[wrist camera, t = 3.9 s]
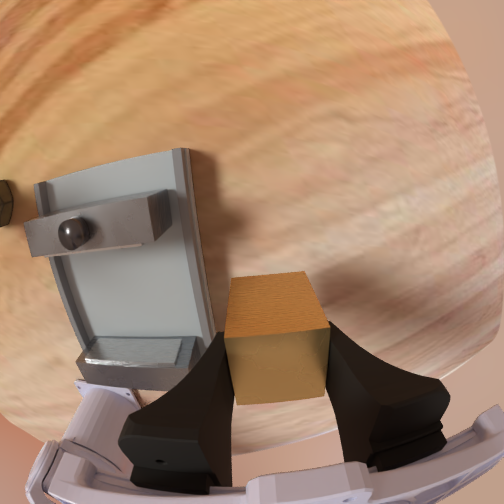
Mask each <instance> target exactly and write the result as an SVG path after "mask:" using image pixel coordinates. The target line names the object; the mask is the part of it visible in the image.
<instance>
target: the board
mask: <svg viewBox="0 0 504 504" xmlns="http://www.w3.org/2000/svg"><path fill="white" fill-rule="evenodd" d="M166 188H167V190H168V197H169V204H170V211H171V217H172V224H173V225H172V226H171V227H170V228H169V229H168V230H167V231H166V232H165V233H163V234H162V235H161V236H160V237H159V238H158V239H157V240H156V241H155V242H151V243H144V244H143V245H142V246H137V247H128V248H119V249H110V250H102V251H93V252H85V253H77V254H69V255H61V256H53V257H49V261H50V264H51V268H52V271H53V274H54V278H55V281H56V284H57V287H58V290H59V293H60V296H61V298H62V301H63V304H64V307H65V309H66V312H67V315H68V317H69V320H70V322H71V325H72V327H73V329H74V332H75V334H76V336H77V339H78V341H79V343H80V345H81V348H82V350H84V349H85V348H86V346H87V345H88V343H89V342H90V341H91V339H92V338H93V337H94V336H127V337H168V336H196V338H197V342H198V346H199V350H200V354H201V357H202V355H203V354H204V352H205V351H206V350H207V348H208V347H209V345H210V343H211V342H212V340H213V338H214V337H215V335H216V329H215V324H214V319H213V313H212V308H211V302H210V296H209V291H208V285H207V279H206V273H205V267H204V260H203V254H202V247H201V241H200V234H199V227H198V220H197V212H196V205H195V197H194V189H193V181H192V172H191V164H190V154H189V148H176V149H172V150H170V151H164V152H159V153H154V154H148V155H143V156H139V157H134V158H129V159H125V160H120V161H116V162H112V163H108V164H104V165H100V166H96V167H92V168H88V169H85V170H81V171H77V172H74V173H71V174H67V175H64V176H61V177H57V178H54V179H51V180H48V181H45V182H40V183H37V184H34V191H35V197H36V203H37V209H38V214H39V216H41V215H44V214H46V213H49V212H51V211H54V210H58V209H62V208H66V207H71V206H75V205H79V204H84V203H89V202H93V201H98V200H103V199H108V198H114V197H119V196H124V195H130V194H135V193H141V192H147V191H153V190H160V189H166Z"/></svg>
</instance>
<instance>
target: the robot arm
mask: <svg viewBox="0 0 504 504" xmlns="http://www.w3.org/2000/svg"><path fill="white" fill-rule="evenodd" d="M328 323H329V325H330V341H329V354H328V365H327V375H326V385H325V387H326V390H327V393H328V395H329V398H330V401H331V403H332V406H333V409H334V413H335V416H336V421H337V425H338V430H339V435H340V440H341V445H342V450H343V456H344V463H339V464H335V465H329V466H324V467H318V468H312V469H306V470H299V471H291V472H282V473H273V474H267V475H261V476H258V477H256V478H254V479H251V480H250V481H249V482H248V483H247V485H246V487H232V465H231V464H232V463H231V421H232V412H233V404H234V396H235V393H234V388H233V383H232V378H231V373H230V368H229V363H228V358H227V352H226V347H225V341H224V333H225V332H218V333H217V334H216V335H215V337H214V338H213V340H212V342H211V343H210V345H209V347H208V348H207V350H206V351H205V352H204V354H203V355H202V357H201V358H200V359H199V361H198V362H197V363H196V364H195V366H194V367H193V368H192V369H191V371H190V372H189V373H188V374H187V375H186V376H185V377H184V378H183V379H182V380H181V381H180V382H179V383H178V384H177V385H176V386H174V387H173V388H172V389H171V390H170V391H168V392H167V393H166V394H164V395H163V396H162V397H160V398H159V399H157V400H156V401H154V402H152V403H151V404H149V405H147V406H145V407H143V408H141V407H140V405H139V403H138V401H137V399H136V397H135V395H134V393H133V391H132V389H128V388H118V387H109V386H101V385H94V384H87V382H86V381H82V380H75V382H74V384H75V385H76V387H77V389H78V390H79V392H80V394H81V395H82V397H83V399H82V401H81V403H80V405H79V406H78V408H77V410H76V412H75V414H74V416H73V418H72V420H71V422H70V423H69V425H68V427H67V429H66V431H65V433H64V435H63V437H62V439H61V441H60V442H59V443H58V442H57V441H55V440H52V441H47V442H46V443H45V444H44V446H43V447H42V449H41V451H40V453H39V455H38V456H37V458H36V460H35V462H34V464H33V466H32V468H31V471H30V474H29V478H28V481H27V483H26V485H25V490H26V496H27V498H28V500H29V502H30V503H31V504H56V503H54V502H52V501H51V500H49V499H48V498H47V497H46V496H45V494H44V493H43V492H45V493H47V494H48V495H50V496H51V497H53V498H55V499H56V500H58V501H60V502H61V503H63V504H436V503H438V502H439V501H441V500H443V499H445V498H446V497H448V496H450V495H451V494H453V493H455V492H456V491H458V490H460V489H461V488H463V487H465V486H466V485H468V484H469V483H471V482H472V481H474V480H476V479H477V478H478V477H480V476H482V475H483V474H485V473H486V472H487V471H489V470H490V469H492V468H493V467H494V466H495V465H496V464H497V463H498V462H499V461H500V460H501V459H502V458H503V457H504V412H503V411H502V409H501V408H500V406H499V405H498V404H496V405H494V406H493V407H491V408H490V409H488V410H486V411H485V412H483V413H482V414H480V415H479V416H478V417H477V418H476V420H475V421H474V423H473V425H472V426H471V427H469V428H467V429H465V430H463V431H462V432H460V433H458V434H456V435H454V436H452V437H450V438H448V439H446V438H445V437H444V435H443V433H442V432H441V429H442V428H443V425H442V423H441V421H440V419H441V418H442V416H443V414H444V412H445V411H446V409H447V407H448V405H449V402H450V394H449V392H448V391H447V389H446V388H445V386H444V385H443V384H442V382H441V381H440V380H439V379H435V378H430V377H425V376H421V375H417V374H414V373H411V372H408V371H405V370H402V369H400V368H397V367H395V366H393V365H390V364H388V363H386V362H384V361H383V360H381V359H379V358H377V357H375V356H374V355H372V354H370V353H369V352H367V351H366V350H365V349H363V348H362V347H360V346H359V345H358V344H356V343H355V342H354V341H353V340H351V339H350V338H349V337H348V336H347V335H345V334H344V333H343V332H342V331H341V330H340V329H339V328H337V327H336V326H335V325H334V324H333V323H332V322H331V321H328Z"/></svg>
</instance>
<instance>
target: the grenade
mask: <svg viewBox="0 0 504 504" xmlns="http://www.w3.org/2000/svg"><path fill="white" fill-rule="evenodd" d="M12 208H13V199H12V195H11V192H10V189H9V187H8V185H7V183H6V181H5V180H0V227H2V226H5V225H7V224H8V223H9V220H10V218H11V214H12Z"/></svg>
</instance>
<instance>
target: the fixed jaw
mask: <svg viewBox="0 0 504 504" xmlns="http://www.w3.org/2000/svg"><path fill="white" fill-rule="evenodd" d="M200 358H201V354H200V350H199V346H198V342H197V338H196V336H168V337H127V336H94V337H93V338H92V339H91V341H90V342H89V343H88V345H87V346H86V348H85V349H84V350H83V352H82V353H81V355H80V356H79V357H78V359H77V360H76V364H77V366H78V368H79V370H80V371H81V373H82V375H83V377H84V379H85V381H86V382H87V384H94V385H101V386H109V387H118V388H128V389H140V390H155V391H170V390H171V389H172V388H173V387H174V386H176V385H177V384H178V383H179V382H180V381H181V380H182V379H183V378H184V377H185V376H186V375H187V374H188V373H189V372H190V371H191V369H192V368H193V367H194V366H195V364H196V363H197V362H198V361H199V359H200Z"/></svg>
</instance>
